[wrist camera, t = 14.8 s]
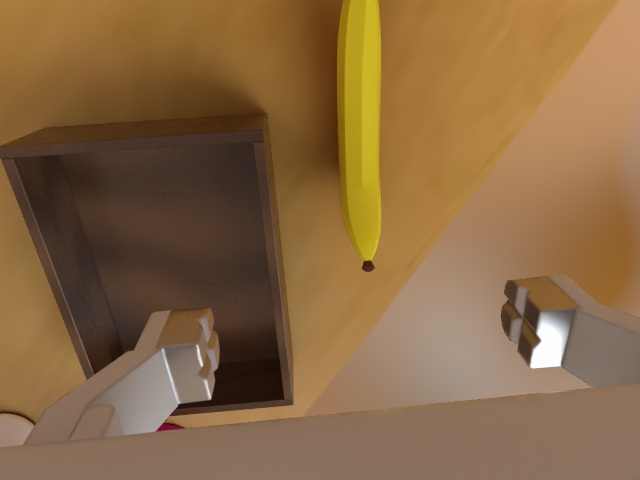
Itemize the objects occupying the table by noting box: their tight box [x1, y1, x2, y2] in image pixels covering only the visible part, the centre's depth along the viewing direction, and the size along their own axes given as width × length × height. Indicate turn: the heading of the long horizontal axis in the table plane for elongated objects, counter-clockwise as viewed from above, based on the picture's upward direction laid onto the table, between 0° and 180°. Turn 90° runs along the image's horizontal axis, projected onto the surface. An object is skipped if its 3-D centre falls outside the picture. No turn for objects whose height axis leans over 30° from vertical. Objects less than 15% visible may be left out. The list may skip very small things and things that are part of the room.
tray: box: [0, 113, 294, 416], centre depth 33 cm, size 22×15×6 cm
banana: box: [337, 0, 381, 272], centre depth 28 cm, size 3×19×6 cm, turn 3°
